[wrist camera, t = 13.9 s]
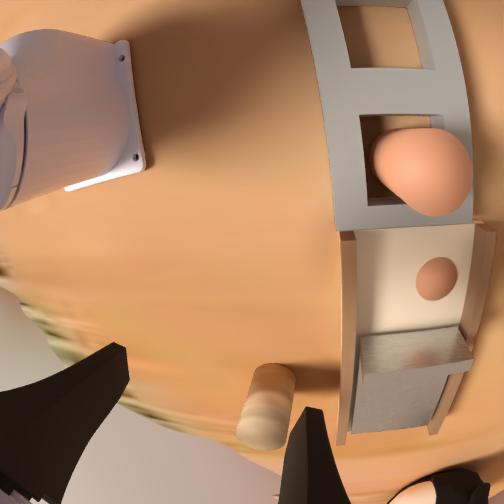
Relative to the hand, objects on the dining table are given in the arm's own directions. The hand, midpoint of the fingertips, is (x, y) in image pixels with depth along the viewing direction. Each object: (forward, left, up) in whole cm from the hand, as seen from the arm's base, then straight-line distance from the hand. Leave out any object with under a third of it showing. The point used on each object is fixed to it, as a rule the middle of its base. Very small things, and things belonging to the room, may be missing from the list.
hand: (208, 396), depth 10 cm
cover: (+9, +10, -9) cm, 16 cm away
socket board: (-10, +9, -10) cm, 17 cm away
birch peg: (+9, 0, -10) cm, 13 cm away
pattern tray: (+6, +10, -10) cm, 15 cm away
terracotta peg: (-7, +9, -10) cm, 15 cm away
